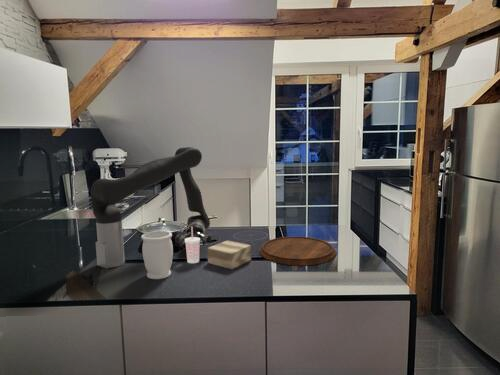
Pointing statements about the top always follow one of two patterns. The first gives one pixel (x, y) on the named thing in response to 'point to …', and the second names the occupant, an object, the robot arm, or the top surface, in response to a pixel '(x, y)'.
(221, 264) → the wooden riser
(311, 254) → the cutting board
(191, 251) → the beverage cup
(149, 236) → the jar
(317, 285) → the top surface
